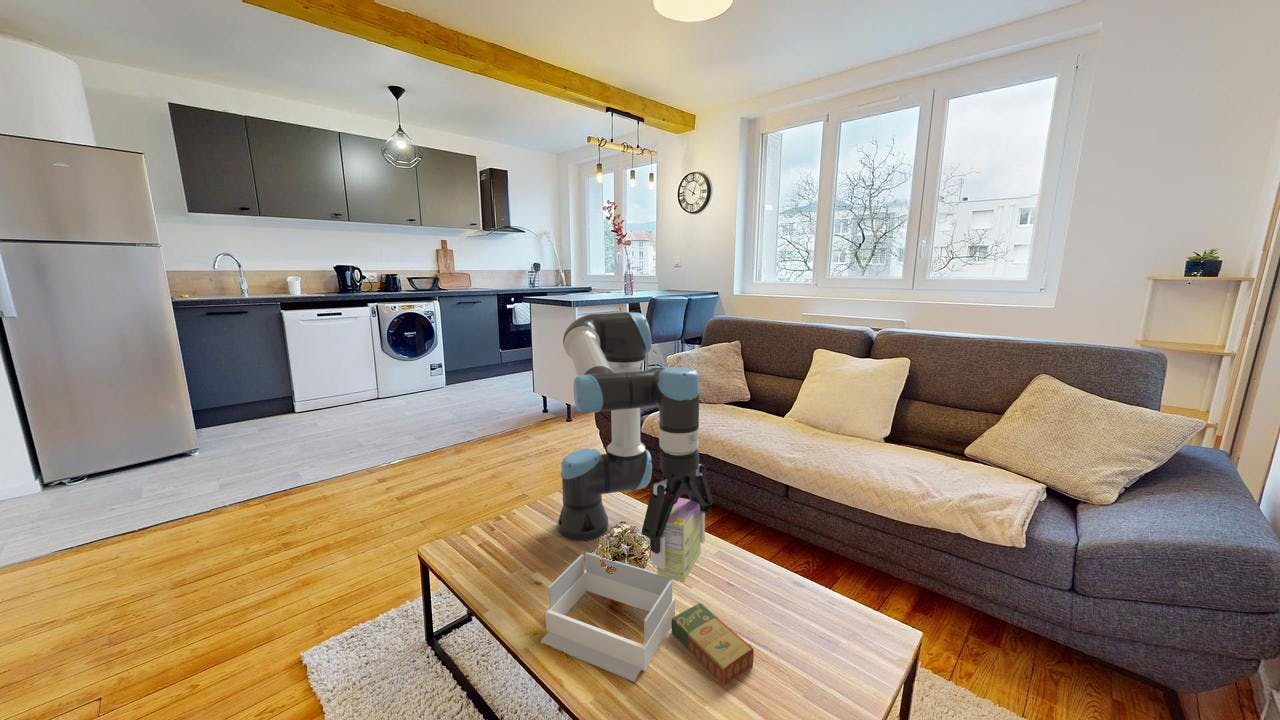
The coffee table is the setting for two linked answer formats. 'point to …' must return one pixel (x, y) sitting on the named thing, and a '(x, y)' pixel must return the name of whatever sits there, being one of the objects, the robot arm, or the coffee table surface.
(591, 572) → the open crate
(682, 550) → the box
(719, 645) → the carton
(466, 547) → the coffee table surface
